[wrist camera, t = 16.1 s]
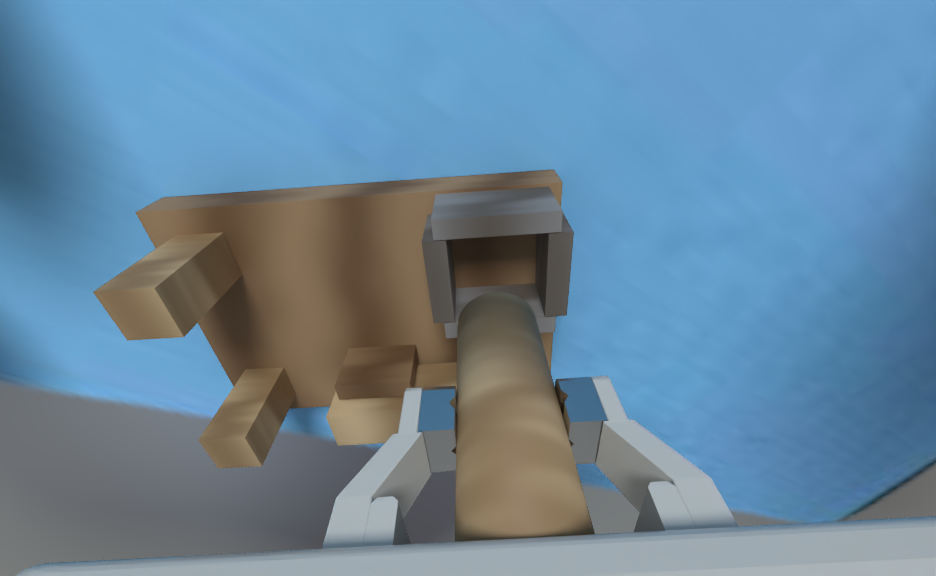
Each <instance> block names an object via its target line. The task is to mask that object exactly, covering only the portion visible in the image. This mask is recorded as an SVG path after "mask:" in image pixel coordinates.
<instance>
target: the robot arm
mask: <svg viewBox="0 0 936 576" xmlns="http://www.w3.org/2000/svg"><path fill="white" fill-rule="evenodd" d="M555 391H556V394H557V398H558V401H559V405H560V409H561V412H562V416H563V420H564V423H565V427H566V431H567V434H568V438H569V442H570V445H571V449H572V453H573V456H574V460H575V464H587V463H596V466H597V467H598V468H599V469H600V470H601V471H602V472H603V473H604V474H605V475H606V476H607V478H608V479H609V480H610V481H611V482H612V483H613V484H614V485H615V486H616V487H617V488H618V489H619V491H620V492H621V493H622V494H623V495H624V496H625V497H626V498H627V499H628V500H629V501H630V502H631V503H632V505H633V506H634V507H635V508H636V509H637V510H638V511H639V512H640V514H639V517H638V520H637V523H636V527H635V530H634V532H632V533H631V532H630V533H613V534H612V533H611V534H592V535H573V536H554V537H536V538H517V539H499V540H481V541H462V542H445V543H426V544H425V543H424V544H411V543H410V539H409V536H408V533H407V529H406V526H405V522H404V517H405V516H406V515H407V513H408V511H409V509H410V508H411V506H412V504H413V503H414V501H415V500H416V498H417V497H418V495H419V493H420V492H421V490H422V489H423V487H424V485H425V483H426V482H427V480H428V479H429V477H430V475H431V473H432V472H443V471H456V445H457V422H456V413H457V390H456V386H439V387H420V388H406V390H405V392H404V398H403V405H402V411H401V417H400V423H399V429H398V434H392V436H391V437H390V438H389V439H388V440H387V441H386V442H385V443H384V445H383V446H382V447H381V448H380V449H379V450H378V451H377V453H376V454H375V455H374V456H373V457H372V458H371V459H370V460H369V461H368V463H367V464H366V465H365V466H364V467H363V468H362V470H361V471H360V472H359V473H358V474H357V475H356V476H355V477H354V478H353V480H352V481H351V482H350V483H349V484H348V485H347V486H346V487H345V489H344V490H343V491H342V492H341V493H340V494H339V496H338V497H337V498H336V501H335V504H334V508H333V512H332V515H331V519H330V522H329V526H328V529H327V533H326V537H325V541H324V544H323V547H322V549H311V550H291V551H272V552H253V553H233V554H214V555H195V556H176V557H157V558H137V559H120V560H101V561H100V560H99V561H79V562H55V563H44V564H39V565H35V566H32V567H29V568H27V569H25V570H23V571H21V572H20V573H18V574H16V575H15V576H936V516H932V517H913V518H894V519H875V520H858V521H838V522H819V523H800V524H781V525H762V526H744V527H739V526H738V524H737V523H736V521H735V519H734V517H733V516H732V514H731V512H730V510H729V509H728V507H727V505H726V503H725V502H724V500H723V498H722V497H721V495H720V493H719V491H718V490H717V488H716V486H715V484H714V483H713V481H712V479H711V477H709V476H708V475H707V474H705V473H704V472H703V471H701V470H700V469H699V468H697V467H696V466H695V465H693V464H692V463H691V462H689V461H688V460H687V459H685V458H684V457H683V456H681V455H680V454H679V453H677V452H676V451H675V450H673V449H672V448H671V447H669V446H668V445H667V444H665V443H664V442H663V441H661V440H660V439H659V438H657V437H656V436H655V435H653V434H652V433H651V432H649V431H648V430H647V429H645V428H644V427H643V426H641V425H640V424H639V423H637V422H636V421H635V420H628V418H627V416H626V414H625V411H624V409H623V407H622V405H621V402H620V400H619V398H618V396H617V394H616V391H615V389H614V387H613V385H612V383H611V380H610V378H609V377H608V376H595V377H580V378H566V379H556V382H555Z"/></svg>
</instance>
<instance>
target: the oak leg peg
mask: <svg viewBox="0 0 936 576" xmlns="http://www.w3.org/2000/svg"><path fill="white" fill-rule="evenodd" d="M456 422H457V445H456V509H455V510H456V511H455V542H462V541H481V540H499V539H517V538H536V537H554V536H573V535H592V534H595V533H594V529H593V526H592V522H591V518H590V515H589V511H588V507H587V504H586V500H585V496H584V493H583V490H582V486H581V482H580V478H579V475H578V471H577V467H576V464H575V460H574V456H573V453H572V449H571V445H570V442H569V438H568V434H567V431H566V427H565V423H564V420H563V416H562V412H561V409H560V405H559V401H558V398H557V394H556V391H555V387H554V383H553V380H552V376H551V372H550V369H549V365H548V361H547V358H546V354H545V350H544V347H543V343H542V339H541V336H540V332H539V328H538V325H537V321H536V317H535V314H534V312H533V310H532V308H531V306H530V305H529V304H528V303H527V302H526V301H525V300H523V299H522V298H520V297H518V296H516V295H513V294H510V293H503V292H494V293H488V294H484V295H481V296H479V297H477V298H475V299H473V300H472V301H470V302H469V303H468V304H467V305H466V306H465V307H464V308H463V310H462V311H461V313H460V315H459V318H458V323H457V413H456Z"/></svg>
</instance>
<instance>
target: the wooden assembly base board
mask: <svg viewBox="0 0 936 576" xmlns="http://www.w3.org/2000/svg"><path fill="white" fill-rule="evenodd" d="M561 195H562V181H561V179H560V178H559V176H558V175H557V173H556V172H555V171H554V170H541V171H527V172H513V173H499V174H485V175H471V176H457V177H443V178H429V179H415V180H401V181H387V182H373V183H359V184H346V185H332V186H318V187H304V188H290V189H276V190H262V191H248V192H234V193H220V194H206V195H192V196H178V197H164V198H161V199H159V200H158V201H156V202H154V203H152V204H150V205H148V206H146V207H144V208H143V209H141V210H139V211H137V212H136V214H137V216H138V218H139V220H140V221H141V223H142V225H143V227H144V228H145V230H146V232H147V234H148V236H149V237H150V239H151V241H152V243H153V244H154V246H155V248H156V249H155V250H154V251H152V252H151V253H149V254H148V255H146V256H145V257H143V258H142V259H141V260H139V261H138V262H136V263H135V264H133V265H132V266H130V267H129V268H127V269H126V270H124V271H123V272H122V273H120V274H119V275H117V276H116V277H114V278H113V279H111V280H110V281H108V282H107V283H106V284H104V285H103V286H101V287H100V288H98V289H97V290H95V291H94V292H93V293H94V294H95V295H96V297H97V298H98V300H99V301H100V303H101V304H102V305H103V307H104V308H105V310H106V311H107V312H108V314H109V315H110V317H111V318H112V319H113V321H114V322H115V324H116V325H117V326H118V328H119V329H120V331H121V332H122V333H123V335H124V336H125V338H126V339H127V340H142V339H159V338H175V337H184V336H185V335H186V334H187V333H188V332H189V331H190V330H191V329H192V328H193V327H194V326H195V325H196V324H197V323H198V324H199V326H200V328H201V329H202V331H203V333H204V335H205V336H206V338H207V340H208V342H209V344H210V345H211V347H212V349H213V351H214V352H215V354H216V356H217V358H218V359H219V361H220V363H221V365H222V367H223V368H224V370H225V372H226V374H227V375H228V377H229V379H230V381H231V383H232V384H233V386H234V387H233V389H232V390H231V392H230V393H229V395H228V396H227V398H226V399H225V401H224V402H223V404H222V405H221V407H220V408H219V410H218V411H217V413H216V415H215V416H214V418H213V419H212V421H211V422H210V424H209V425H208V427H207V428H206V430H205V431H204V433H203V434H202V436H201V437H200V439H199V442H200V443H201V445H202V446H203V447H204V449H205V450H206V452H207V453H208V455H209V456H210V457H211V459H212V460H213V462H214V463H215V464H216V465H217V467H218V468H233V467H254V466H262V465H263V463H264V461H265V459H266V456H267V454H268V452H269V450H270V448H271V446H272V444H273V442H274V440H275V437H276V435H277V433H278V431H279V429H280V427H281V425H282V423H283V421H284V418H285V416H286V414H287V412H288V410H289V408H307V407H326V406H330V405H331V403H332V400H333V397H334V395H335V392H336V393H337V395H338V398H339V400H342V399H360V398H379V397H398V396H404V392H405V390H406V388H414V383H415V376H416V369H417V365H423V364H439V363H455V362H457V323H458V318H459V315H460V313H461V311H462V310H463V308H464V307H465V306H466V305H467V304H468V303H469V302H470V301H472V300H473V299H475V298H477V297H479V296H481V295H484V294H488V293H494V292H503V293H510V294H513V295H516V296H518V297H520V298H522V299H523V300H525V301H526V302H527V303H528V304H529V305H530V306H531V308H532V310H533V312H534V314H535V317H536V321H537V325H538V328H539V332H540V336H541V339H542V343H543V347H544V350H545V354H546V358H547V361H548V365H549V369H550V372H551V356H552V340H553V332H555V322H556V316H564V315H567V306H568V294H569V282H570V270H571V259H572V247H573V235H574V232H573V230H572V228H571V227H570V225H569V223H568V221H567V219H566V218H565V216H564V214H563V211H562V209H561Z"/></svg>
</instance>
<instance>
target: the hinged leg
mask: <svg viewBox="0 0 936 576" xmlns="http://www.w3.org/2000/svg"><path fill="white" fill-rule="evenodd" d="M439 386H456V390H457V362H455V363H439V364H423V365H417V369H416V376H415V383H414V388H420V387H439ZM403 398H404V396H398V397H379V398H360V399H342V400H339V398H338V395H337V393H336V392H335V395H334V397H333V400H332V403H331V405H330V408H329V411H328V414H327V416H326V418H327V420H328V423H329V425H330V428H331V430H332V432H333V435H334V437H335V440H336V442H337V444H338V446H339V445H358V444H376V443H385V442H386V441H387V440H388V439H389V438H390V437H391V436H392V434H398V429H399V423H400V417H401V411H402V405H403Z"/></svg>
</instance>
